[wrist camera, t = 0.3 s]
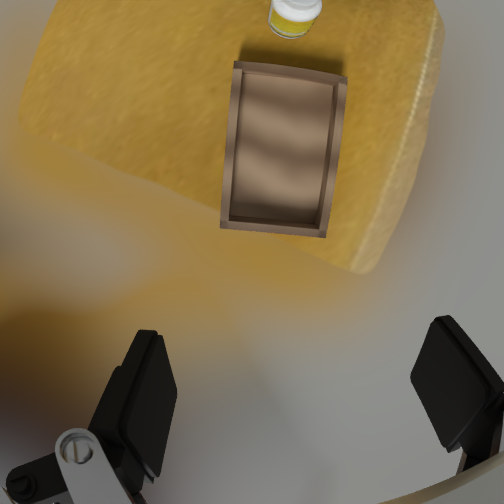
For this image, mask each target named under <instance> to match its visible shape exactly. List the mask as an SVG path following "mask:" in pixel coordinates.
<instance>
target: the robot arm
mask: <svg viewBox="0 0 504 504" xmlns="http://www.w3.org/2000/svg"><path fill="white" fill-rule="evenodd" d="M410 379H411V382H412V384H413V386H414V388H415V390H416V392H417V394H418V396H419V398H420V400H421V402H422V404H423V406H424V408H425V410H426V412H427V415H428V417H429V419H430V421H431V423H432V425H433V427H434V429H435V431H436V434H437V436H438V438H439V440H440V442H441V445H442V446H443V447H445V448H446V450H447V452H448V453H450V452H452V451H455V450H457V449H459V448H460V447H461V446H462V449H463V452H462V456H461V459H460V463H459V466H458V469H457V472H456V475H455V476H453V477H451V478H449V479H447V480H444V481H442V482H440V483H437V484H435V485H432V486H430V487H427V488H425V489H422V490H419V491H416V492H414V493H411V494H408V495H405V496H402V497H399V498H395V499H392V500H389V501H386V502H382V503H378V504H504V393H503V392H504V382H503V381H502V379H501V378H500V377H499V375H498V374H497V372H496V371H495V370H494V368H493V367H492V366H491V365H490V363H489V362H488V361H487V359H486V358H485V357H484V355H483V354H482V353H481V351H480V350H479V349H478V348H477V346H476V345H475V344H474V343H473V342H472V340H471V339H470V338H469V337H468V335H467V334H466V333H465V332H464V331H463V329H462V328H461V327H460V326H459V325H458V323H457V322H456V321H455V320H454V319H453V318H452V317H451V316H450V315H446V316H439V317H436V318H435V319H434V321H433V322H432V323H431V324H430V327H429V330H428V332H427V335H426V338H425V340H424V343H423V345H422V348H421V351H420V353H419V355H418V358H417V360H416V363H415V365H414V367H413V370H412V372H411V376H410ZM176 399H177V388H176V384H175V380H174V377H173V374H172V370H171V366H170V363H169V359H168V355H167V351H166V347H165V343H164V339H163V336H162V335H158V333H157V331H155V330H138V332H137V334H136V336H135V338H134V340H133V342H132V344H131V346H130V348H129V350H128V352H127V354H126V357H125V359H124V361H123V363H122V365H121V366H117V367H116V368H115V370H114V371H113V373H112V375H111V378H110V380H109V382H108V384H107V386H106V388H105V391H104V393H103V395H102V397H101V399H100V401H99V404H98V406H97V409H96V411H95V413H94V415H93V417H92V420H91V422H90V424H89V427H88V429H87V430H85V429H79V428H75V429H71V430H68V431H67V432H64V434H62V435H61V436H60V437H59V439H58V440H57V442H56V446H55V452H54V453H52V454H49V455H47V456H44V457H42V458H39V459H37V460H34V461H32V462H29V463H26V464H24V465H21V466H18V467H16V468H14V469H12V471H11V472H10V473H9V474H8V476H7V479H6V487H5V488H3V487H2V486H0V504H148V503H147V501H146V500H145V498H144V497H143V495H142V494H141V492H140V490H142V486H143V482H146V483H151V484H153V481H154V477H159V475H160V473H161V468H162V463H163V457H164V453H165V448H166V444H167V439H168V434H169V430H170V425H171V421H172V417H173V412H174V408H175V403H176Z"/></svg>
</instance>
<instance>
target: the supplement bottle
mask: <svg viewBox="0 0 504 504" xmlns="http://www.w3.org/2000/svg"><path fill="white" fill-rule="evenodd" d="M321 9H322V1H321V0H271V5H270V11H269V16H268V23H269V26H270V28H271V29H272V30H273V32H275V33H276V34H277V35H279V36H281V37H284V38H289V39H293V38H299V37H302V36H303V35H305V34H306V33H307V32H308V31H309V29H310V28H311V26H312V25H313V23H314V21H315V20H316V18H317V17H318V15H319V13H320V11H321Z"/></svg>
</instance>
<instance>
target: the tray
mask: <svg viewBox="0 0 504 504" xmlns="http://www.w3.org/2000/svg"><path fill="white" fill-rule="evenodd" d="M347 79H348V77H344V76H340V75H335V74H331V73H326V72H321V71H315V70H310V69H304V68H297V67H291V66H283V65H275V64H267V63H256V62H244V61H234V67H233V76H232V85H231V95H230V105H229V115H228V126H227V137H226V148H225V160H224V173H223V186H222V200H221V215H220V216H221V217H220V228H222V229H233V230H246V231H256V232H267V233H278V234H289V235H299V236H309V237H319V238H326V233H327V228H328V222H329V217H330V211H331V205H332V199H333V193H334V187H335V180H336V174H337V167H338V160H339V152H340V145H341V137H342V129H343V120H344V111H345V101H346V91H347Z"/></svg>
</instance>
